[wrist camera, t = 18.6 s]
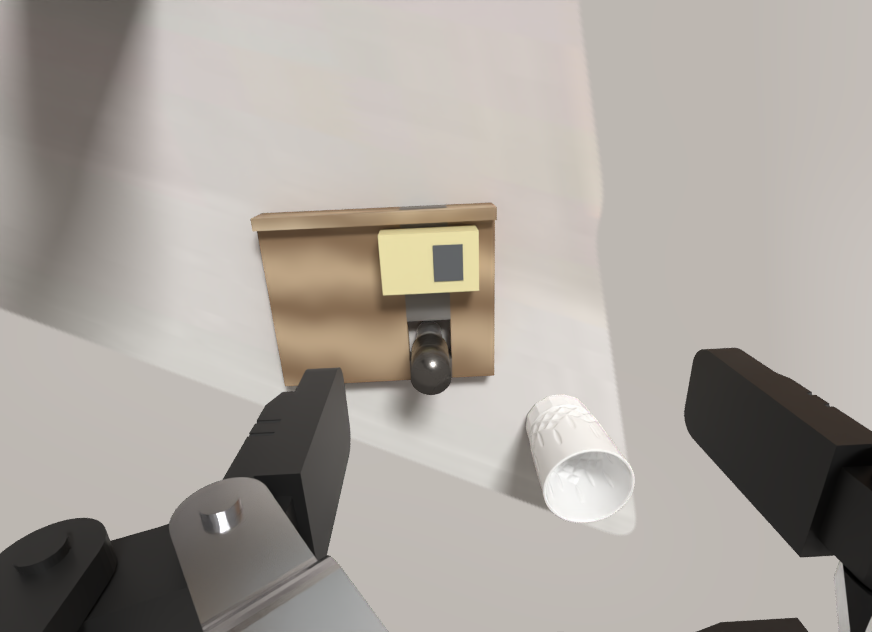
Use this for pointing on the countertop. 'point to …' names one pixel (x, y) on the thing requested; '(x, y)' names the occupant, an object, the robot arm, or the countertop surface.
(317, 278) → the board
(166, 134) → the countertop surface
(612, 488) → the white cup
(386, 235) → the stud finder
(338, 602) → the robot arm
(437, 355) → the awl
